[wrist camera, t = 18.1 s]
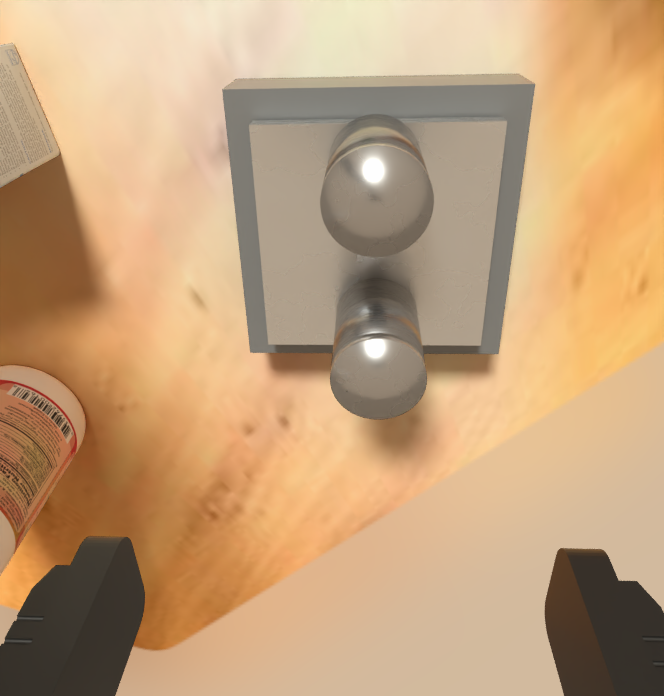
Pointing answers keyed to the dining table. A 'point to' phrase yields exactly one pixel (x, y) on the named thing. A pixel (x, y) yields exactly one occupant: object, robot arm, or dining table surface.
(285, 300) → the platform
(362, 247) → the cylinder
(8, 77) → the light bulb box
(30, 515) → the fruit juice
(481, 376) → the dining table surface
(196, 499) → the dining table surface
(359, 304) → the cylinder
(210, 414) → the dining table surface
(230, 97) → the scale
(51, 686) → the robot arm
